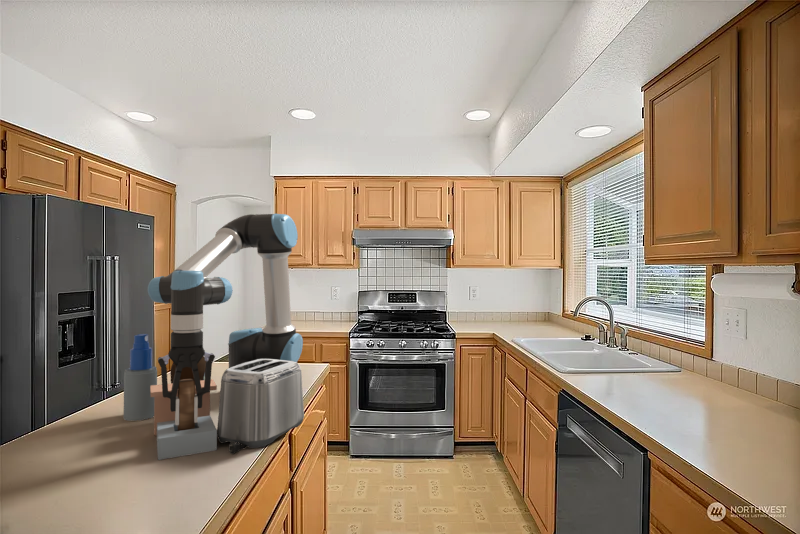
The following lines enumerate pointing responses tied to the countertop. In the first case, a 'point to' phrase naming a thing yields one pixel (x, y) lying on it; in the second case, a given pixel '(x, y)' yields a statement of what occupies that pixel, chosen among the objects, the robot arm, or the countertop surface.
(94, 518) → the countertop surface
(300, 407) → the toaster
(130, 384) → the spray bottle
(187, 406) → the peg
